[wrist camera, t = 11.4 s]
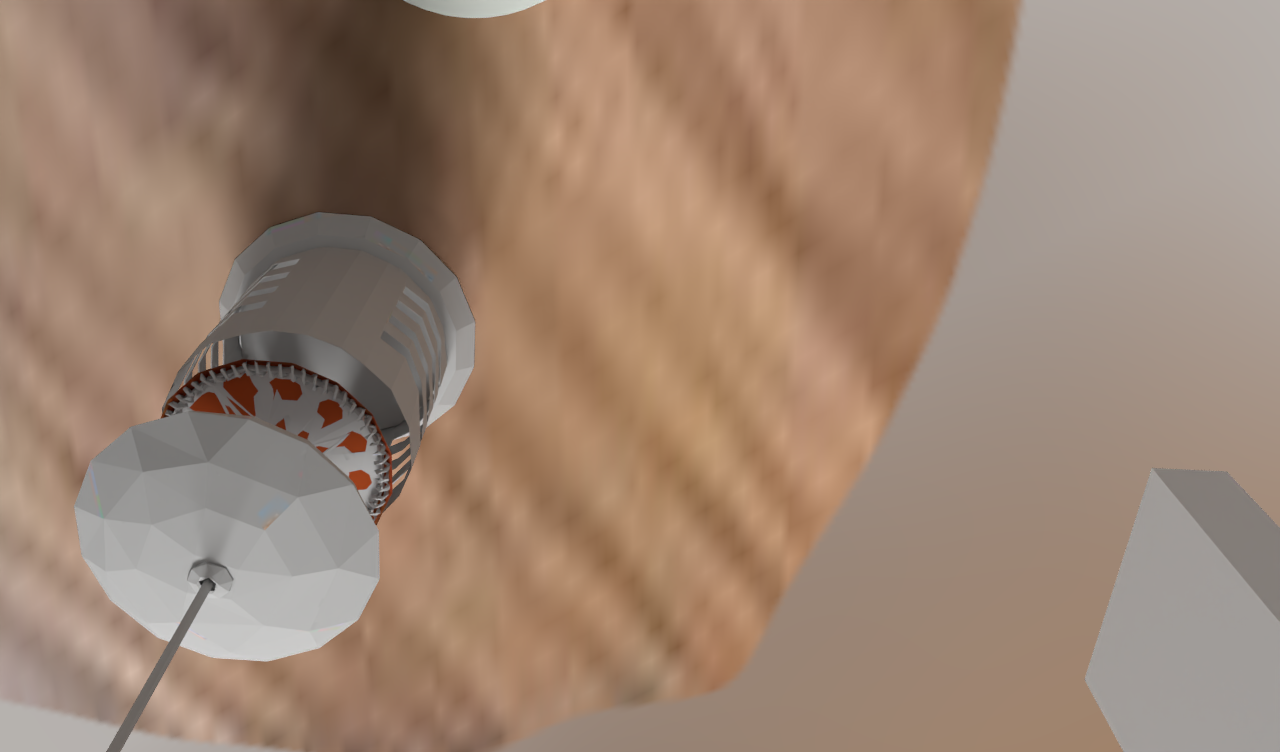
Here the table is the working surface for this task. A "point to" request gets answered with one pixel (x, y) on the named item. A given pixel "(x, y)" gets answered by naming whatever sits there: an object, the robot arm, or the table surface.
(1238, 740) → the robot arm
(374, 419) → the french press
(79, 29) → the table surface
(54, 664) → the table surface
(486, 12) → the dish
